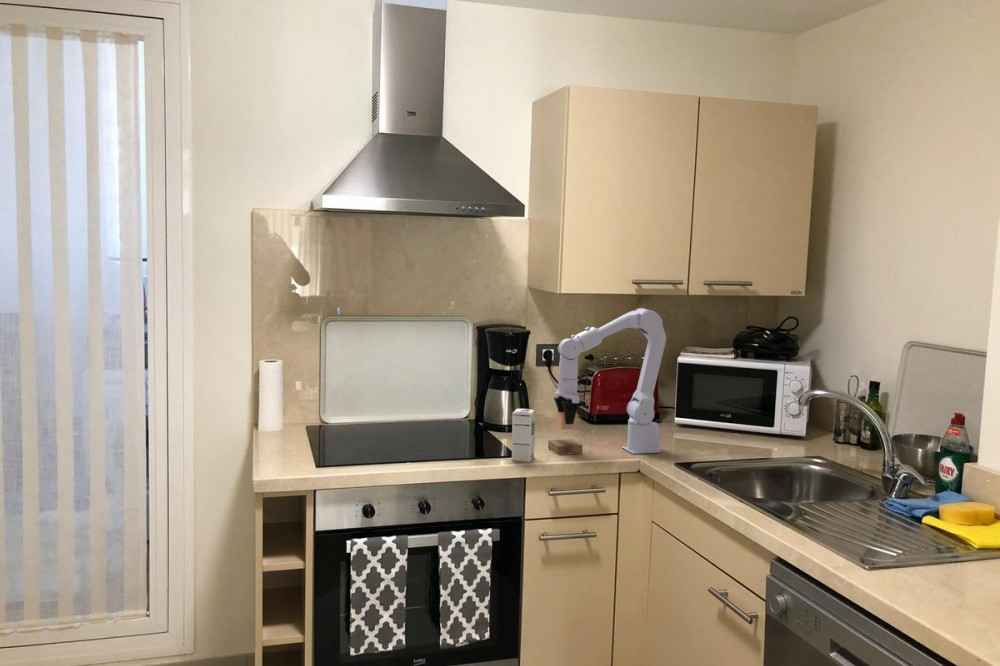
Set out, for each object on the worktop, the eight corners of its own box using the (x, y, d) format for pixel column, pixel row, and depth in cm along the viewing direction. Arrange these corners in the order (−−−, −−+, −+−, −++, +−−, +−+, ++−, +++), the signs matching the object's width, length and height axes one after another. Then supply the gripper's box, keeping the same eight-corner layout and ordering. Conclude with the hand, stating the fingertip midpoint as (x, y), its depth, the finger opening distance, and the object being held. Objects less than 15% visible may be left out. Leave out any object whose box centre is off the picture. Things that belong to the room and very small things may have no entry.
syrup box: (530, 462, 241) (532, 412, 240) (510, 460, 243) (512, 411, 241) (534, 457, 247) (535, 409, 246) (514, 455, 248) (515, 407, 247)
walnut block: (571, 448, 261) (572, 439, 261) (581, 454, 254) (582, 445, 253) (548, 449, 259) (548, 440, 258) (557, 455, 251) (557, 446, 251)
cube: (569, 425, 258) (570, 411, 258) (575, 428, 254) (575, 414, 253) (556, 426, 257) (556, 412, 256) (561, 429, 252) (561, 414, 252)
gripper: (547, 374, 259) (545, 417, 261) (564, 382, 246) (562, 427, 247) (568, 374, 262) (566, 417, 263) (586, 381, 248) (584, 426, 249)
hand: (566, 422), depth 255 cm, fingers closed on cube, 4 cm apart
